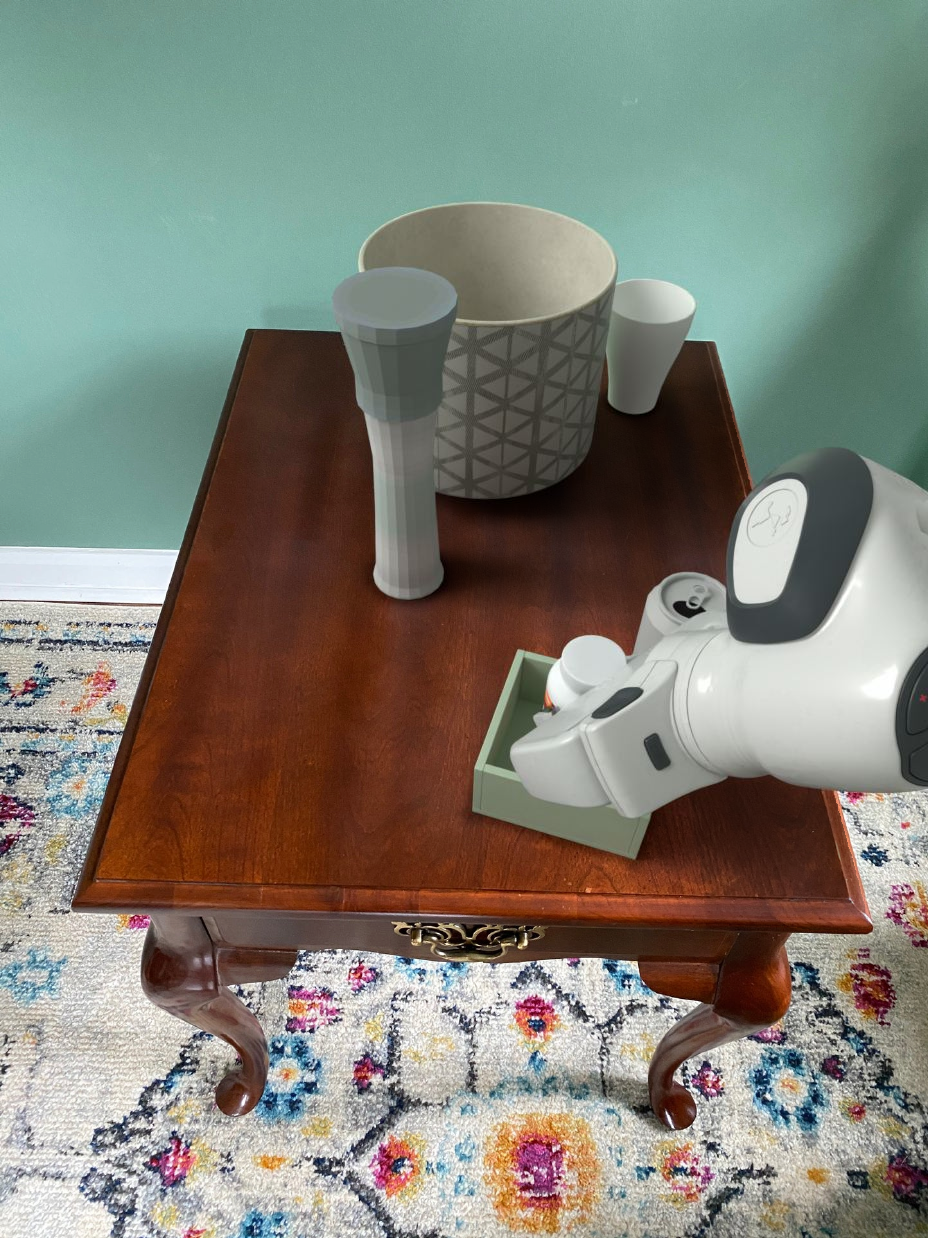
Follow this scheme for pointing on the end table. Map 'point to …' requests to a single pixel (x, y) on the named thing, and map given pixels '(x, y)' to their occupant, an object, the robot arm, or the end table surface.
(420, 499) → the grey tall flared cylinder
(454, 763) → the end table surface
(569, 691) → the pill bottle
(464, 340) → the planter
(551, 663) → the bin
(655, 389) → the cup
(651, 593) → the can
